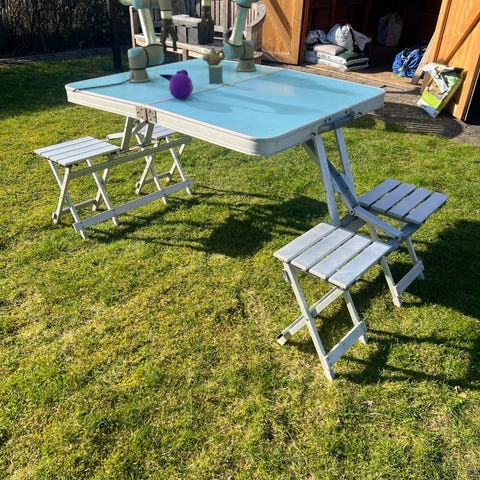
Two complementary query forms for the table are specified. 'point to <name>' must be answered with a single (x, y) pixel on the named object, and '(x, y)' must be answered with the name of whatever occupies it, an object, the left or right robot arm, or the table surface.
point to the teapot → (214, 57)
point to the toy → (179, 84)
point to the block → (215, 74)
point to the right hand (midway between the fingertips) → (207, 34)
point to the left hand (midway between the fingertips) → (170, 52)
